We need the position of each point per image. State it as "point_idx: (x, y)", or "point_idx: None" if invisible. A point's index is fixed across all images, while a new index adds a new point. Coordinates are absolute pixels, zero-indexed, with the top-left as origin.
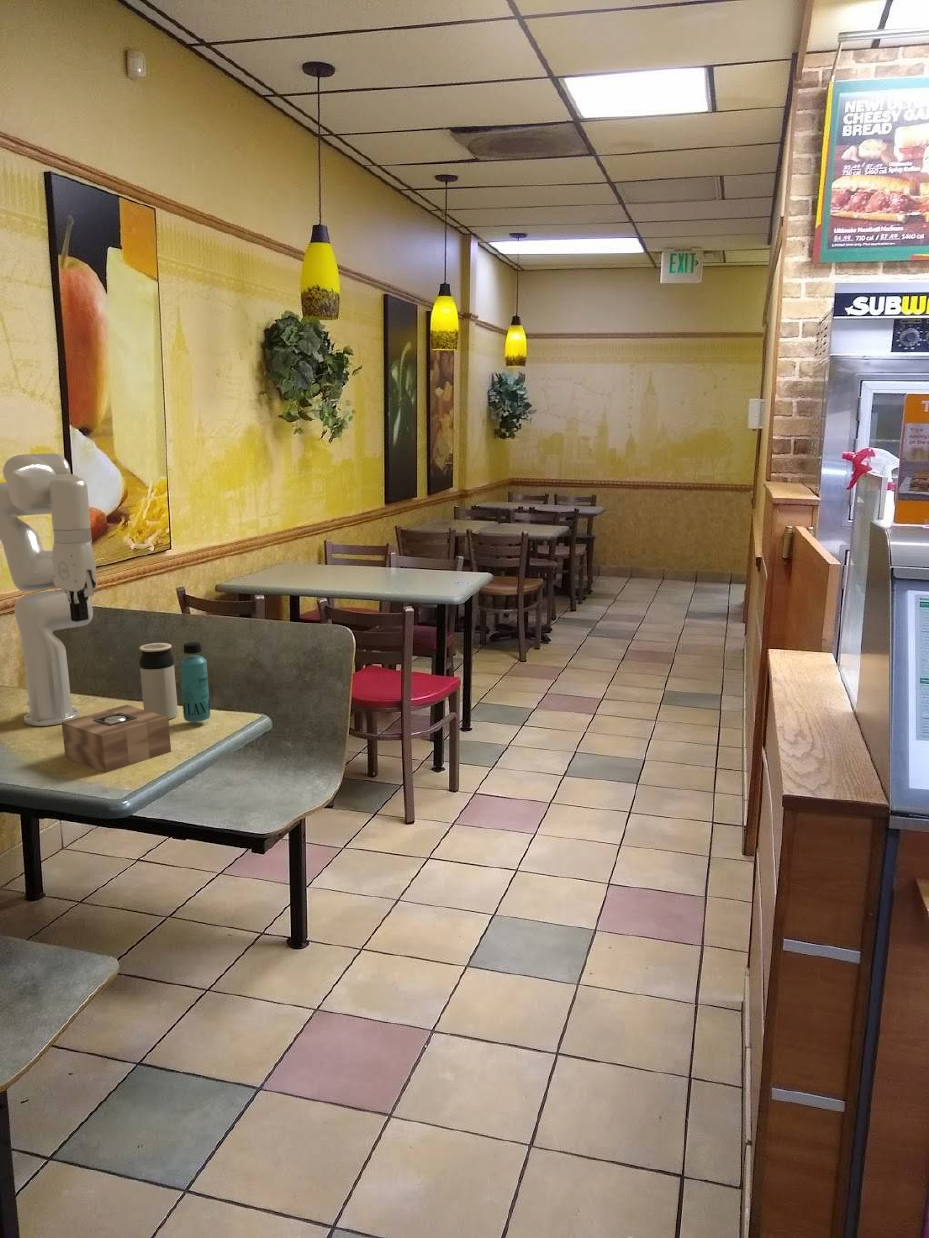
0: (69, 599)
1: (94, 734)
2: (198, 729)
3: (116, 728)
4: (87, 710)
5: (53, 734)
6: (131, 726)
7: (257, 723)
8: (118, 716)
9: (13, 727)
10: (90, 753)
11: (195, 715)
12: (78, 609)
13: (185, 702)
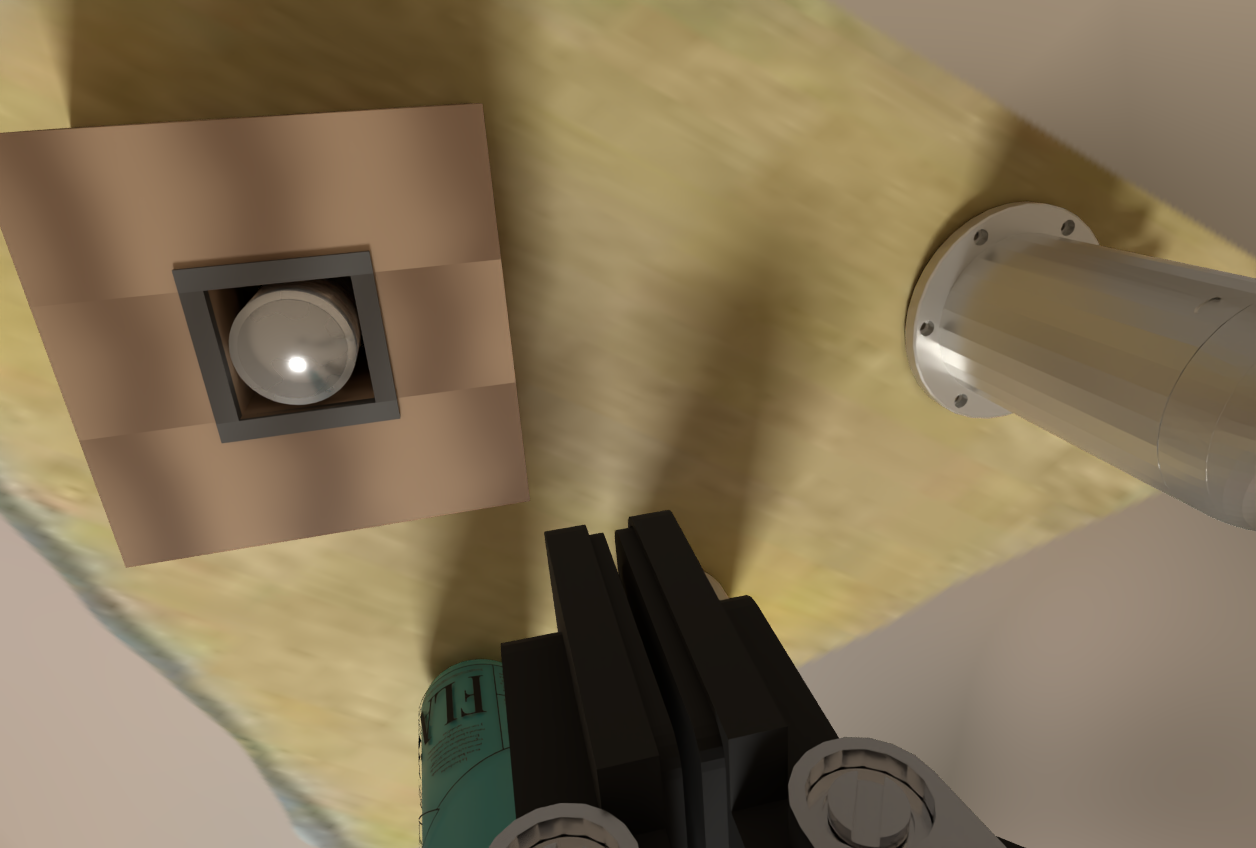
0: (881, 810)
1: (78, 128)
2: (402, 662)
3: (90, 274)
4: (969, 453)
5: (817, 222)
6: (71, 354)
7: (302, 835)
8: (319, 379)
9: (1040, 144)
10: (194, 120)
11: (429, 700)
12: (543, 735)
13: (470, 717)
